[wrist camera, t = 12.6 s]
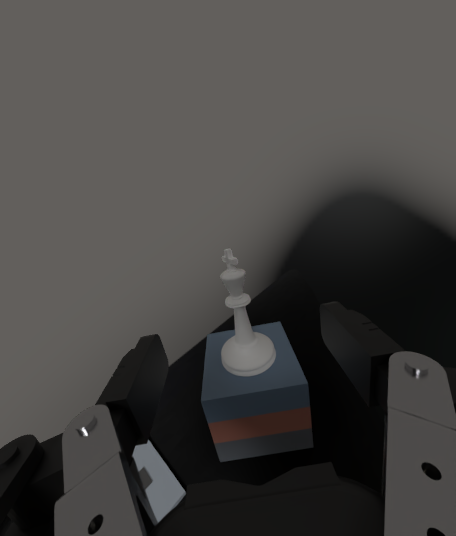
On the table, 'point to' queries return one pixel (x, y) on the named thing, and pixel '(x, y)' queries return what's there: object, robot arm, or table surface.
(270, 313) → the table surface
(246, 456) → the brick tower
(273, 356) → the chess piece
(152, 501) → the picture card
